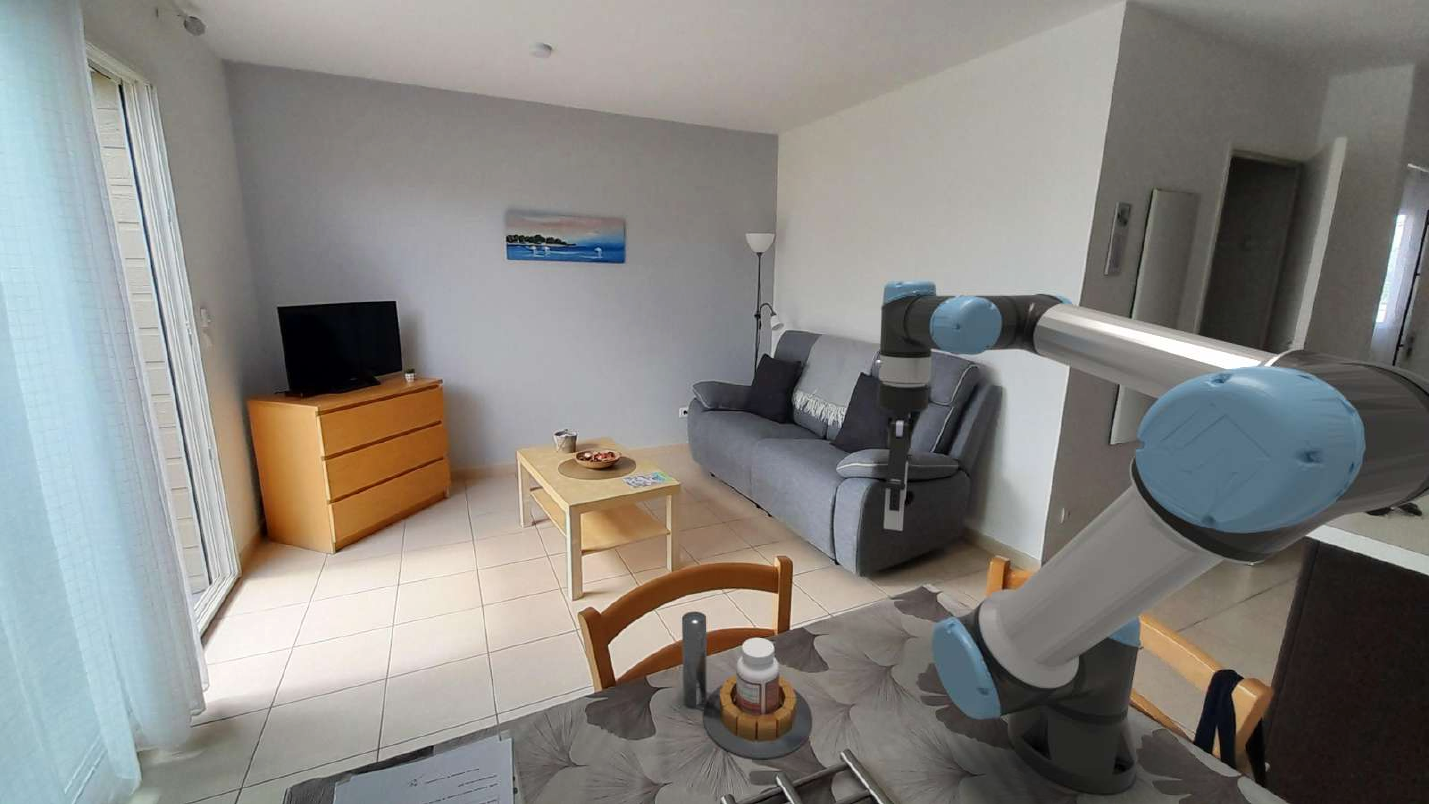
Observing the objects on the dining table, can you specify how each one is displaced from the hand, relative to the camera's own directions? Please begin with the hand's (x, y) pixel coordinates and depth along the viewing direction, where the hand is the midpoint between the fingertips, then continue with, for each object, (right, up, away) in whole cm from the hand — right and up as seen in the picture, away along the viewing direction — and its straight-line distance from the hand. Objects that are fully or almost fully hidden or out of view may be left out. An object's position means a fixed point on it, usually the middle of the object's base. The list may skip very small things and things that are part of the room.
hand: (895, 512), depth 96 cm
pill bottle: (-23, -28, -8) cm, 37 cm away
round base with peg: (-25, -29, -7) cm, 38 cm away
